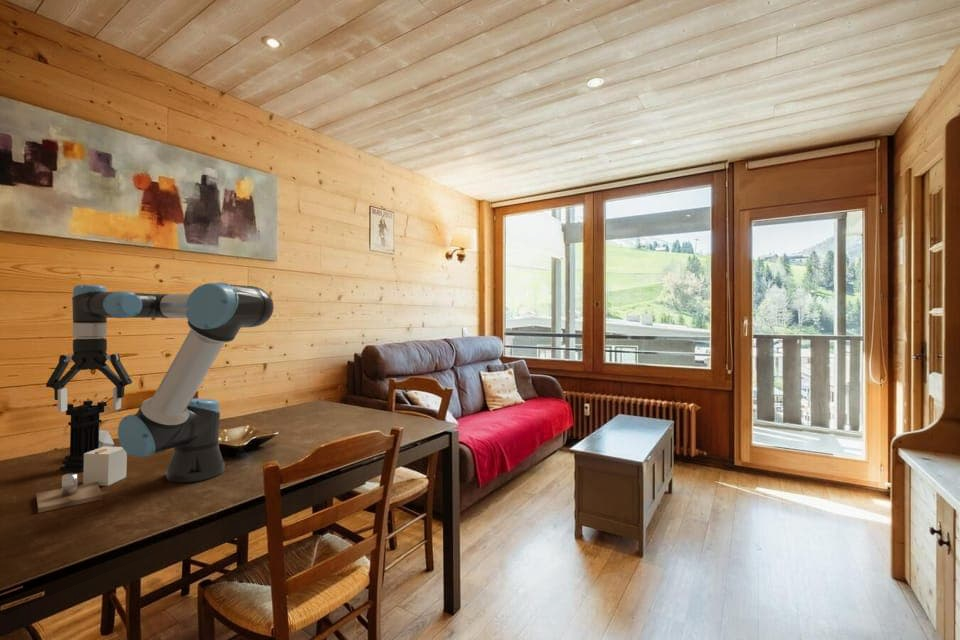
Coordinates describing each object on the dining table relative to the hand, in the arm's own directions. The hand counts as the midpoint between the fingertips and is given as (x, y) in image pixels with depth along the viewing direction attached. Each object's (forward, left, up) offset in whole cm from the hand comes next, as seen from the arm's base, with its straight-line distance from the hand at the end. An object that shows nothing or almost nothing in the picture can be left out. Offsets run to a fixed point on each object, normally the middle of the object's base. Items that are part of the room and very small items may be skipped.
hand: (90, 410), depth 130 cm
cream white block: (-7, 0, -20) cm, 21 cm away
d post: (-11, +11, -19) cm, 24 cm away
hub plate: (-11, +11, -20) cm, 25 cm away
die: (+20, -15, -20) cm, 32 cm away
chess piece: (+11, -6, -20) cm, 24 cm away
